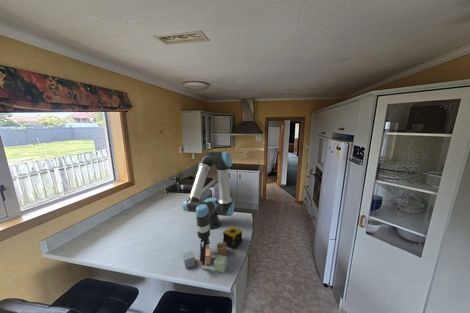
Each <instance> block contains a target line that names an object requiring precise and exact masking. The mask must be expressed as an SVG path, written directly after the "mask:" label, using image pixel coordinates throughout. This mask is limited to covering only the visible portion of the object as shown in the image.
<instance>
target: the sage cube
mask: <svg viewBox="0 0 470 313" xmlns="http://www.w3.org/2000/svg"><path fill="white" fill-rule="evenodd" d="M227 266H228V255H227V256H222V255H218V254H216V257H215V259H214V261H213V269H214V271H215V272H218V273H225V271H226V268H227Z"/></svg>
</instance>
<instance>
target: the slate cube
mask: <svg viewBox="0 0 470 313" xmlns="http://www.w3.org/2000/svg"><path fill="white" fill-rule="evenodd" d="M182 257H183V263H184V267H185V270H186V269H189V268H192V267H194V266H196V256H195V253H194V251H193V250H191V251H188V252H185V253H183V254H182Z"/></svg>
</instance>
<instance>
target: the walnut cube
mask: <svg viewBox="0 0 470 313" xmlns="http://www.w3.org/2000/svg"><path fill="white" fill-rule="evenodd" d="M216 247H217V248H216V249H217V251H216V252H217V255H222V256H227V257H228V248H227V246H226V242H224V243H223V242H219V243H216Z"/></svg>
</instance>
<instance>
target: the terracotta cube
mask: <svg viewBox="0 0 470 313" xmlns="http://www.w3.org/2000/svg"><path fill="white" fill-rule="evenodd" d="M205 259H206V265H211V262H212V249H210V248H209V249H206V255H205ZM199 262H200V261H199ZM199 264H200V266H202V265H201V262H200V263H199Z"/></svg>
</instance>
